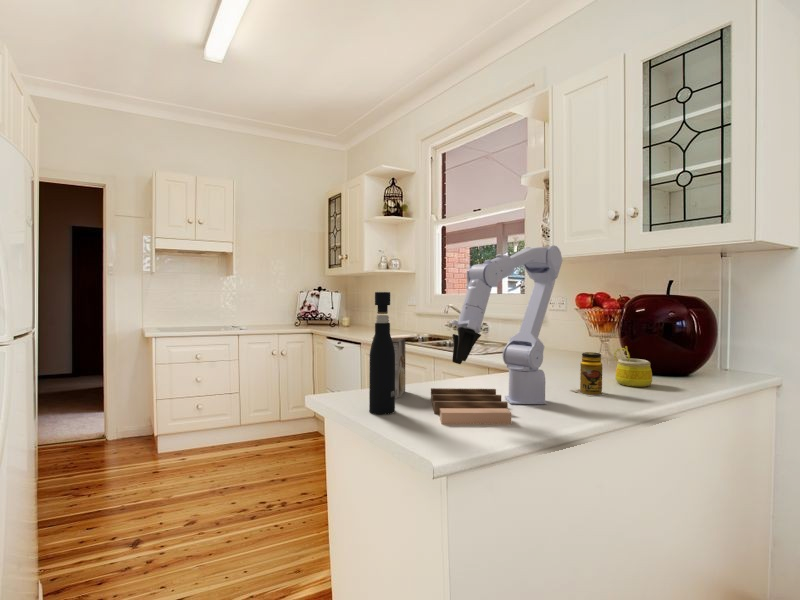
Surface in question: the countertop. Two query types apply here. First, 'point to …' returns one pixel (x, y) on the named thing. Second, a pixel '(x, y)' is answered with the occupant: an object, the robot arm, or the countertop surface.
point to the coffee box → (399, 365)
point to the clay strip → (475, 416)
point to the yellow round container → (632, 371)
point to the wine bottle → (382, 362)
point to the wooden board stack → (465, 398)
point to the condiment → (591, 375)
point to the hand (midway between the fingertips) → (458, 361)
